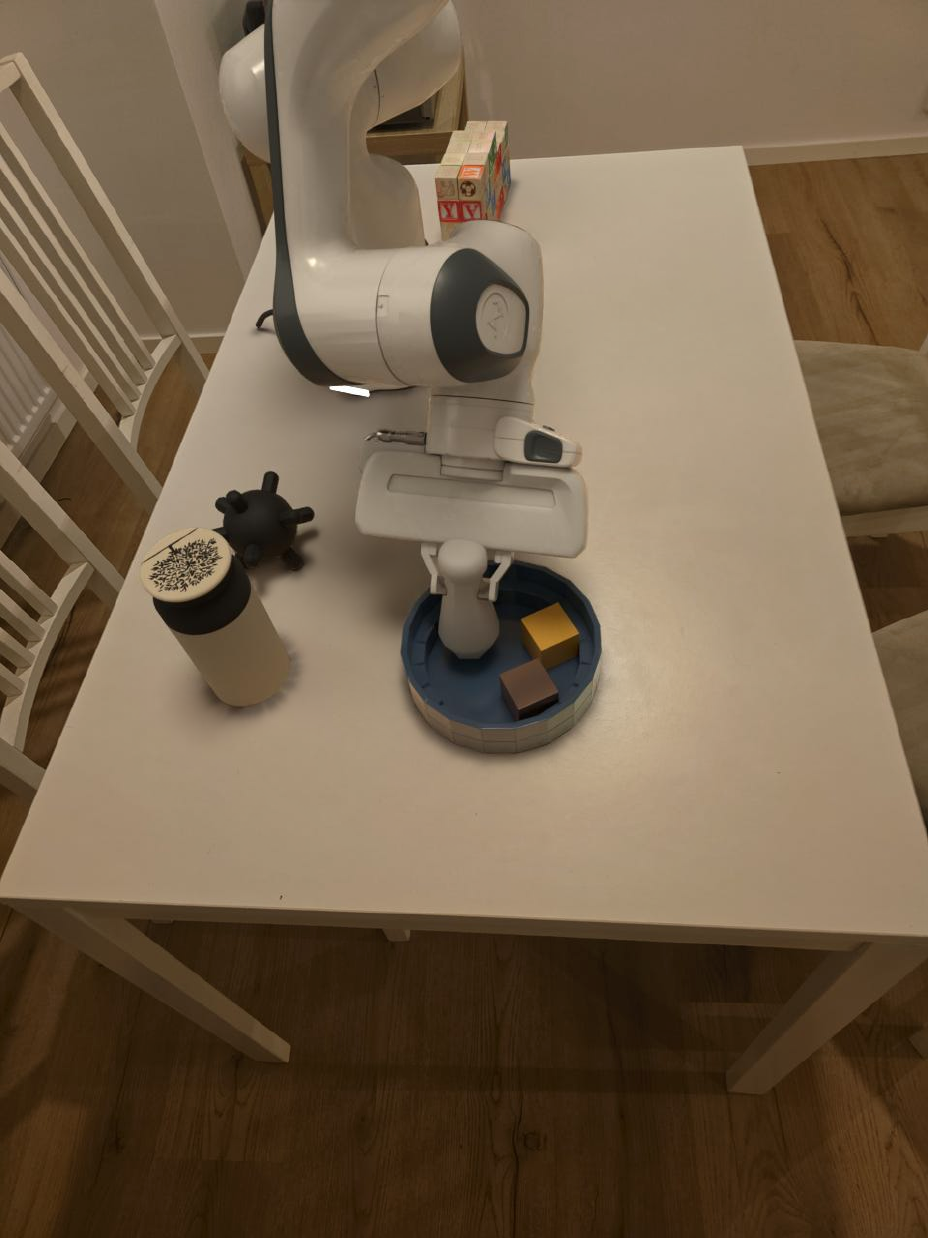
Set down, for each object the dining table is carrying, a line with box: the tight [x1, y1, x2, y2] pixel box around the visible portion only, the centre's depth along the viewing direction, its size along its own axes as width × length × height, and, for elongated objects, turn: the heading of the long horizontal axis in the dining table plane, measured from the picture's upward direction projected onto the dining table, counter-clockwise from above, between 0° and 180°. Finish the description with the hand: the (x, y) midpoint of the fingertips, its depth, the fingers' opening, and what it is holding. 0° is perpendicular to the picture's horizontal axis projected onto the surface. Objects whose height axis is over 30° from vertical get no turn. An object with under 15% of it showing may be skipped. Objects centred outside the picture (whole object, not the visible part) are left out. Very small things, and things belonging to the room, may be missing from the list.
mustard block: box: [521, 603, 579, 670], centre depth 77 cm, size 4×4×4 cm
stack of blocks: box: [434, 120, 512, 242], centre depth 117 cm, size 21×6×12 cm, turn 168°
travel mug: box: [139, 527, 291, 708], centre depth 73 cm, size 8×8×18 cm
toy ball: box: [210, 470, 315, 570], centre depth 85 cm, size 11×11×12 cm
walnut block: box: [499, 658, 559, 722], centre depth 74 cm, size 4×4×4 cm
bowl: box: [400, 559, 603, 754], centre depth 76 cm, size 18×18×6 cm
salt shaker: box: [437, 539, 499, 659], centre depth 73 cm, size 6×6×13 cm
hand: (464, 597), depth 71 cm, fingers closed on salt shaker, 3 cm apart
